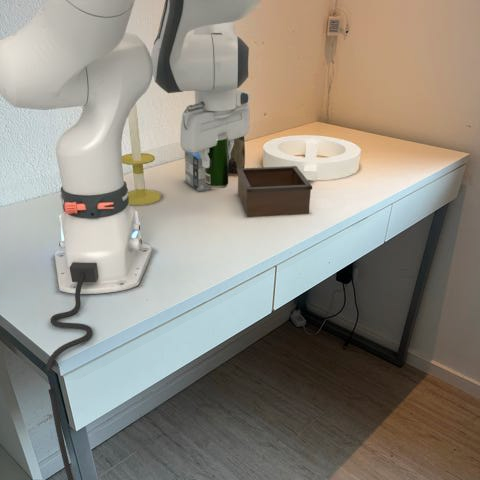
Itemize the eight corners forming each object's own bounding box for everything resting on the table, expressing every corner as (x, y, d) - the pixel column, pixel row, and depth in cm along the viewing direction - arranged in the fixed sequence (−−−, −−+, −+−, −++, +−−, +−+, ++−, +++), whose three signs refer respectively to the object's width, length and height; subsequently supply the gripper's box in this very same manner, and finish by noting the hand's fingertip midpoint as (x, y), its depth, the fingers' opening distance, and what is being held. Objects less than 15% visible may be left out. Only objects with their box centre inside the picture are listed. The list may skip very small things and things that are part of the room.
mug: (248, 171, 148) (248, 127, 141) (239, 177, 144) (239, 132, 137) (223, 167, 151) (223, 124, 144) (214, 172, 147) (213, 128, 140)
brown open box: (309, 214, 122) (312, 186, 118) (246, 217, 120) (246, 189, 116) (294, 191, 134) (296, 166, 131) (237, 194, 132) (237, 168, 129)
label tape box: (184, 181, 140) (182, 134, 134) (198, 179, 142) (196, 132, 135) (198, 192, 134) (196, 143, 127) (212, 189, 136) (211, 141, 129)
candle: (112, 197, 130) (96, 80, 115) (145, 188, 136) (134, 74, 121) (136, 208, 124) (123, 85, 109) (169, 197, 130) (161, 80, 115)
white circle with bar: (311, 145, 170) (312, 130, 167) (378, 167, 152) (381, 150, 149) (243, 161, 156) (243, 145, 153) (308, 187, 137) (310, 169, 135)
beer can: (216, 191, 119) (215, 136, 112) (200, 185, 122) (198, 132, 115) (233, 185, 122) (233, 132, 115) (217, 179, 125) (216, 127, 118)
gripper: (194, 109, 103) (197, 178, 111) (255, 93, 117) (253, 155, 124) (171, 104, 106) (175, 172, 114) (232, 90, 120) (232, 151, 127)
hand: (216, 163), depth 119 cm, fingers closed on beer can, 5 cm apart
